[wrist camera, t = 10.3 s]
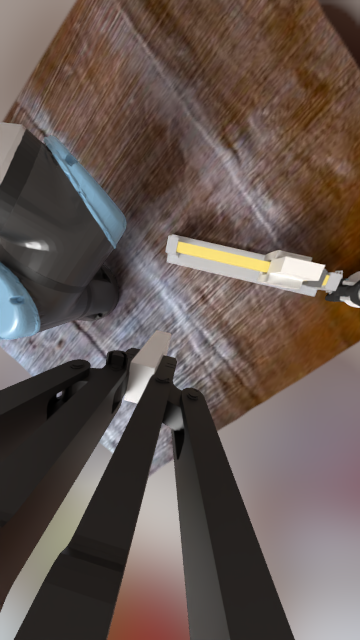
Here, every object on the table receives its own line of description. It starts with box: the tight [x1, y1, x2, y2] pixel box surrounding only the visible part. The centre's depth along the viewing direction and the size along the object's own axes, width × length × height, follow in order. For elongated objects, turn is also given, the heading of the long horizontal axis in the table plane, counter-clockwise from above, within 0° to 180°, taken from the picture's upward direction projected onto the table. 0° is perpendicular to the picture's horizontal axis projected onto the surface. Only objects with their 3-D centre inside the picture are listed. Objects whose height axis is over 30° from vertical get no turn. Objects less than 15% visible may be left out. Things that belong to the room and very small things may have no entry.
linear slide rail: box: [166, 234, 343, 296], centre depth 36 cm, size 34×6×7 cm, turn 78°
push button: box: [325, 271, 360, 306], centre depth 33 cm, size 7×5×10 cm
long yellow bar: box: [176, 241, 329, 287], centre depth 33 cm, size 32×3×3 cm, turn 78°
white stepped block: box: [257, 250, 325, 289], centre depth 31 cm, size 6×6×10 cm
